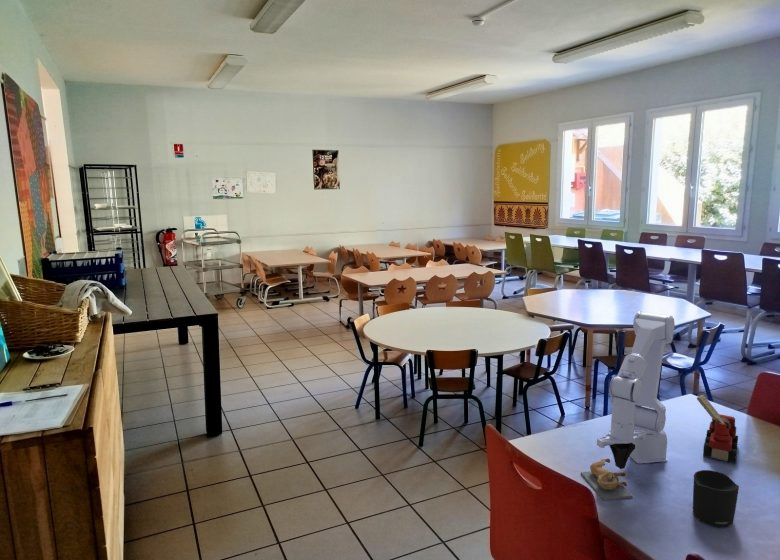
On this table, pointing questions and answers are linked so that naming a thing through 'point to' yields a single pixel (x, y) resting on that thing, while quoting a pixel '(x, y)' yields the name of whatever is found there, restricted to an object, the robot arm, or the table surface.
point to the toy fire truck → (719, 434)
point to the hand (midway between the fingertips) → (620, 466)
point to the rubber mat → (606, 493)
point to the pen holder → (714, 498)
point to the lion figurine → (606, 475)
